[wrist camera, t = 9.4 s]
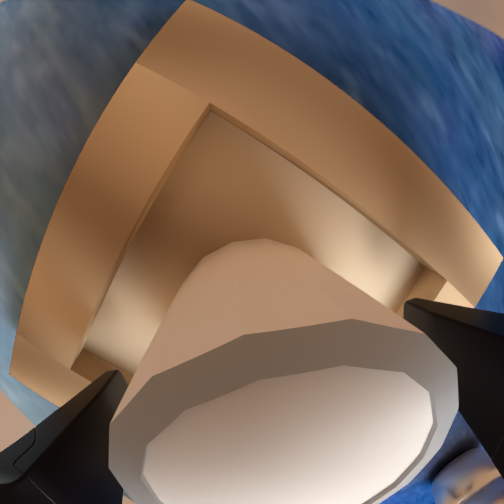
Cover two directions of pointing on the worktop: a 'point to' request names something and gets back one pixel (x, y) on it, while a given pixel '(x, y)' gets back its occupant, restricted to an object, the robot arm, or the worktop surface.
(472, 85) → the worktop surface
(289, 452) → the white tapered cup
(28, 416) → the worktop surface
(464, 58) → the worktop surface
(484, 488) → the plastic bottle
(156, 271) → the holder tray
